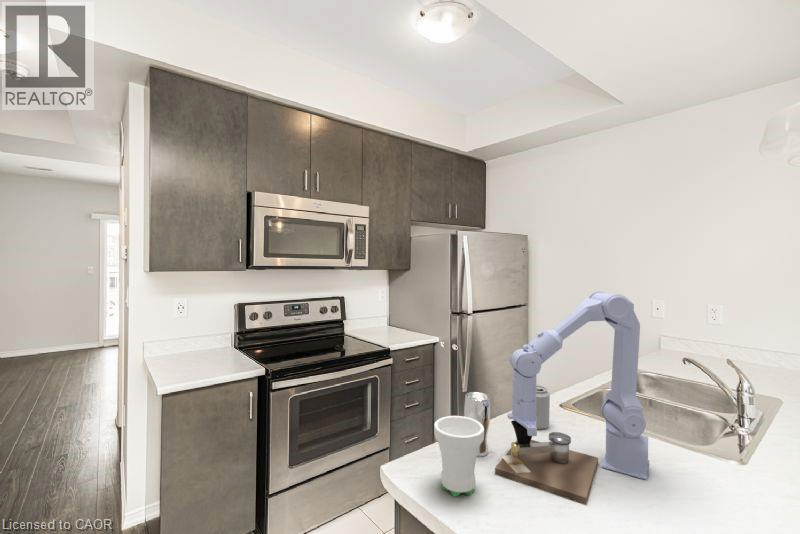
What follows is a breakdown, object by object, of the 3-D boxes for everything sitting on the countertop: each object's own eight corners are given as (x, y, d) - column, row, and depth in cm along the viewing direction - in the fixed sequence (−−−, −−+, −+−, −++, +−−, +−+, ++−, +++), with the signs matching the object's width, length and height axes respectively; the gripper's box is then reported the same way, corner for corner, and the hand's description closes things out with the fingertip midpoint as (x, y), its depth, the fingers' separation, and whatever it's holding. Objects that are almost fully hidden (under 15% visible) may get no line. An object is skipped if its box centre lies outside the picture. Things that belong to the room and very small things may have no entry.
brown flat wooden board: (598, 463, 97) (598, 456, 97) (586, 504, 81) (586, 496, 81) (517, 441, 109) (517, 435, 109) (492, 473, 92) (492, 465, 92)
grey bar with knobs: (562, 452, 99) (562, 431, 99) (575, 463, 94) (575, 440, 94) (506, 457, 96) (506, 435, 96) (516, 469, 91) (516, 445, 91)
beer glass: (471, 442, 108) (472, 389, 108) (494, 450, 103) (495, 395, 103) (459, 451, 102) (459, 396, 102) (482, 460, 98) (483, 402, 98)
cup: (491, 499, 82) (492, 434, 82) (442, 506, 80) (443, 439, 79) (471, 471, 93) (472, 413, 93) (427, 476, 91) (428, 417, 90)
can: (545, 432, 114) (545, 393, 114) (520, 426, 119) (521, 388, 118) (552, 424, 120) (552, 386, 120) (528, 418, 125) (529, 382, 124)
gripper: (501, 387, 103) (500, 437, 104) (515, 408, 89) (514, 466, 89) (528, 388, 103) (527, 438, 103) (546, 409, 89) (545, 467, 89)
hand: (523, 451), depth 96 cm, fingers closed
